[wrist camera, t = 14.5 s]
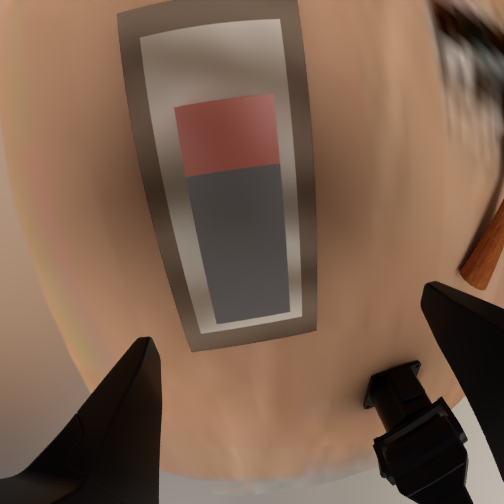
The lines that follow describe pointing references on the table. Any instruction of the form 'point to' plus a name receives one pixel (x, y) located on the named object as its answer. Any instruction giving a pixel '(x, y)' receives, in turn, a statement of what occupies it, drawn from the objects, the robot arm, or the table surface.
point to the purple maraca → (485, 253)
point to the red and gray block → (237, 203)
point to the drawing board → (169, 151)
